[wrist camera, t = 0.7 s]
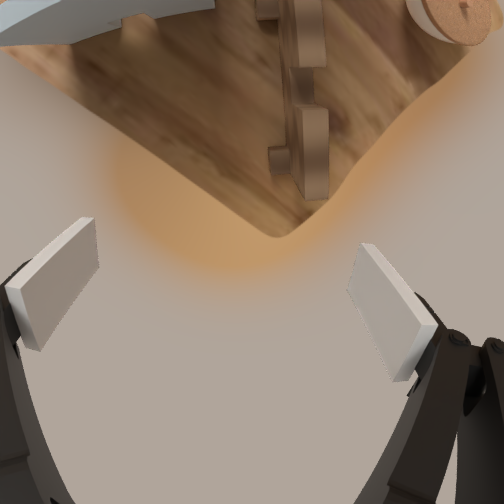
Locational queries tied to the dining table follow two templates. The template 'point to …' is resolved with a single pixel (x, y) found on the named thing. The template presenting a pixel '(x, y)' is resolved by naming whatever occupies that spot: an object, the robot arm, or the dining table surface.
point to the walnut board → (300, 95)
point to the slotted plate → (79, 18)
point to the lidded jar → (452, 19)
